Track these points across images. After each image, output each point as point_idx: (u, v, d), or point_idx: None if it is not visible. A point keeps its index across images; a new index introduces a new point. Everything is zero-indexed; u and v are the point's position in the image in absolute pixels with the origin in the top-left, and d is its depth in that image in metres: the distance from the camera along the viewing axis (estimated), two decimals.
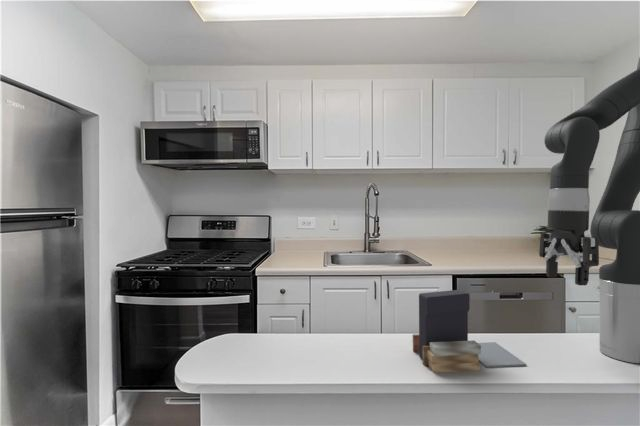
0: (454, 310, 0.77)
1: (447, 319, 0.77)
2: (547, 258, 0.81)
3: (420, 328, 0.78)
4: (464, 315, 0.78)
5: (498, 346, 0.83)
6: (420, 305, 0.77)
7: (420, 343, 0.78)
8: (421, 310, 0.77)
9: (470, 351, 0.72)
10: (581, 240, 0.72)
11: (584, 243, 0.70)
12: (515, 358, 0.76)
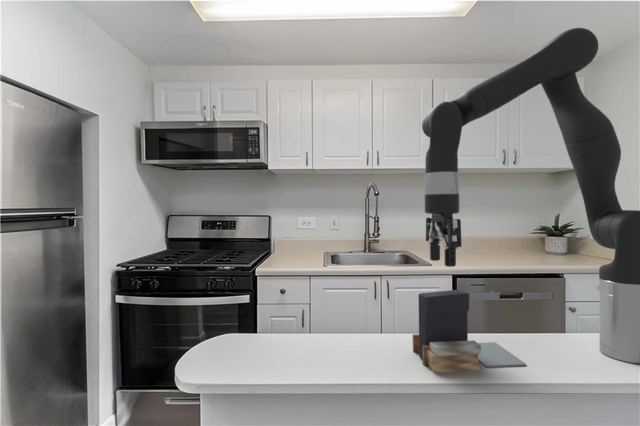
0: (454, 310, 0.77)
1: (447, 319, 0.77)
2: (429, 242, 0.83)
3: (420, 328, 0.78)
4: (464, 314, 0.78)
5: (498, 346, 0.83)
6: (420, 305, 0.78)
7: (420, 343, 0.78)
8: (421, 310, 0.77)
9: (470, 351, 0.72)
10: None
11: (448, 225, 0.72)
12: (515, 358, 0.76)
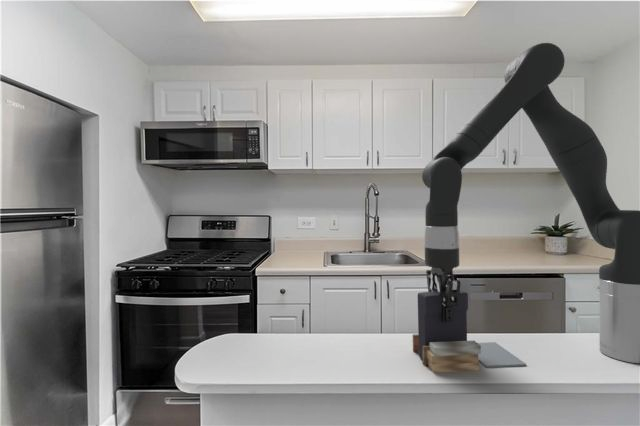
0: (453, 309, 0.77)
1: None
2: None
3: (419, 327, 0.78)
4: (463, 314, 0.78)
5: (498, 346, 0.83)
6: (419, 304, 0.78)
7: (419, 343, 0.78)
8: (420, 309, 0.77)
9: (470, 351, 0.72)
10: (448, 280, 0.74)
11: (447, 286, 0.73)
12: (515, 358, 0.76)
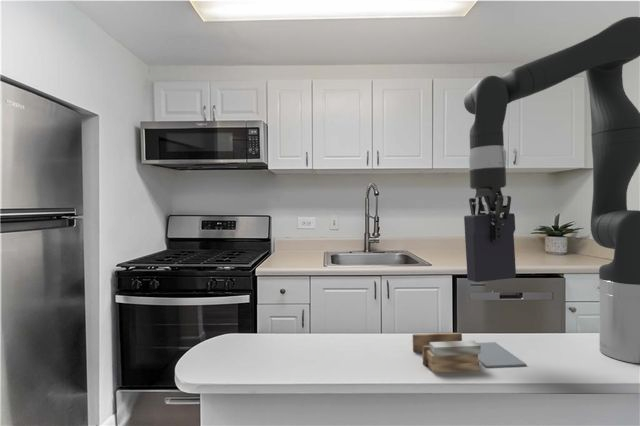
0: None
1: None
2: None
3: (467, 250, 0.78)
4: (511, 235, 0.78)
5: (498, 346, 0.83)
6: (466, 226, 0.78)
7: (468, 265, 0.78)
8: (467, 231, 0.78)
9: (470, 351, 0.72)
10: (497, 197, 0.74)
11: (497, 202, 0.73)
12: (515, 358, 0.76)
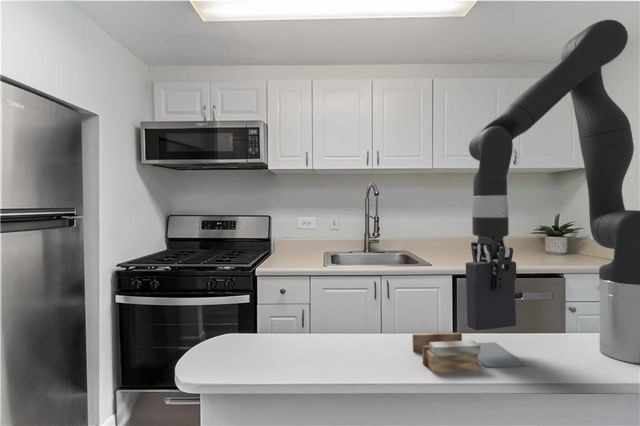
0: None
1: None
2: None
3: (468, 297, 0.78)
4: (512, 283, 0.79)
5: (498, 346, 0.83)
6: (467, 274, 0.78)
7: (468, 312, 0.78)
8: (469, 278, 0.78)
9: (469, 351, 0.72)
10: (499, 248, 0.75)
11: (499, 253, 0.73)
12: (515, 358, 0.76)
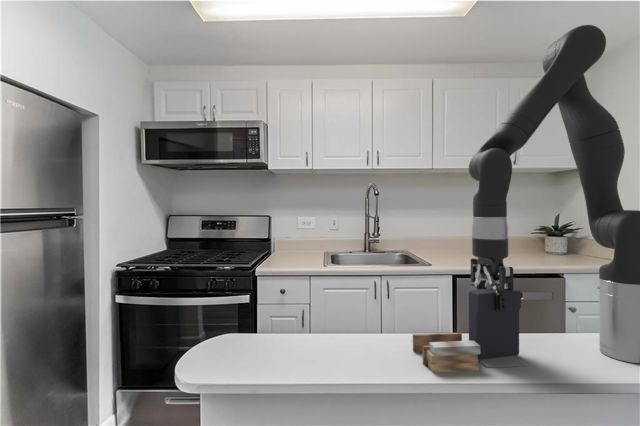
0: None
1: (498, 316, 0.77)
2: (476, 284, 0.83)
3: (470, 325, 0.78)
4: (516, 312, 0.78)
5: None
6: (470, 302, 0.78)
7: (470, 340, 0.78)
8: (471, 307, 0.77)
9: (469, 351, 0.72)
10: (499, 268, 0.74)
11: (500, 273, 0.73)
12: (515, 358, 0.76)
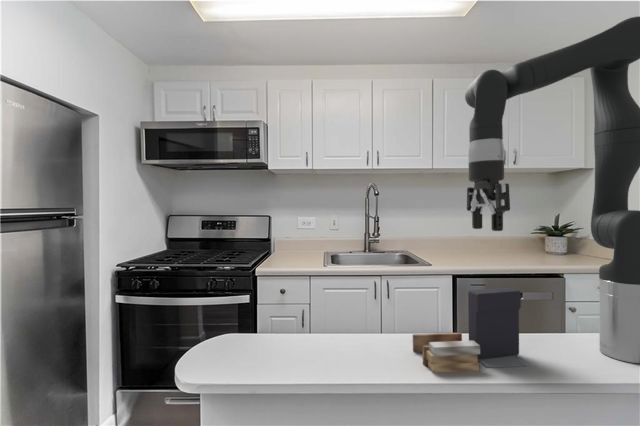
0: (505, 307, 0.76)
1: (498, 316, 0.77)
2: (472, 211, 0.84)
3: (470, 325, 0.78)
4: (515, 312, 0.78)
5: None
6: (470, 302, 0.78)
7: (470, 340, 0.78)
8: (471, 307, 0.77)
9: (469, 351, 0.72)
10: (495, 188, 0.75)
11: (496, 189, 0.74)
12: (515, 358, 0.76)
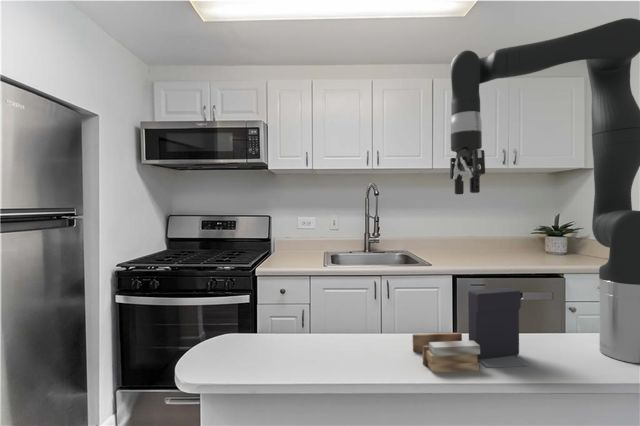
0: (505, 307, 0.76)
1: (498, 316, 0.77)
2: (454, 178, 0.94)
3: (470, 325, 0.78)
4: (515, 312, 0.78)
5: None
6: (470, 302, 0.78)
7: (470, 340, 0.78)
8: (471, 307, 0.77)
9: (469, 351, 0.72)
10: None
11: (473, 155, 0.83)
12: (515, 358, 0.76)
